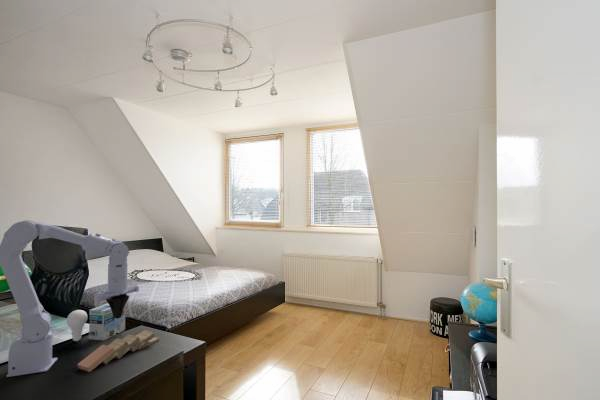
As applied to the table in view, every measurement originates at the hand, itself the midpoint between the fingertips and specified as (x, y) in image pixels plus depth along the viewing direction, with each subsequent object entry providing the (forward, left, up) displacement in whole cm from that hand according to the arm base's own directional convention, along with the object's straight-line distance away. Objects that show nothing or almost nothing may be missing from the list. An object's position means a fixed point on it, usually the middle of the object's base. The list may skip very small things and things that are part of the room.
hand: (117, 317), depth 105 cm
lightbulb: (-15, +12, -11) cm, 22 cm away
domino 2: (-3, -10, -10) cm, 14 cm away
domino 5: (+5, -2, -10) cm, 12 cm away
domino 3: (0, -7, -10) cm, 12 cm away
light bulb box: (-6, +15, -11) cm, 19 cm away
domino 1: (-6, -13, -10) cm, 17 cm away
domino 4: (+4, -3, -9) cm, 11 cm away
